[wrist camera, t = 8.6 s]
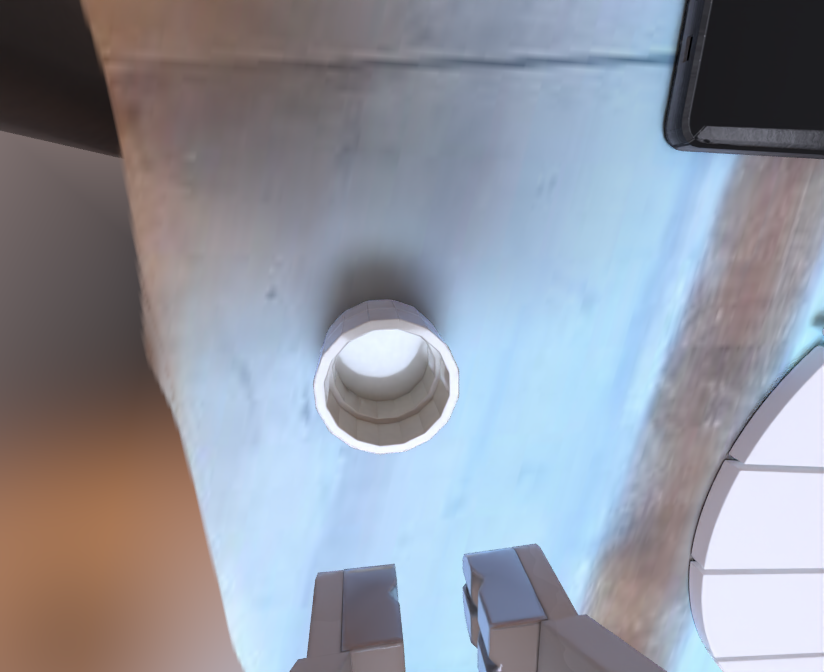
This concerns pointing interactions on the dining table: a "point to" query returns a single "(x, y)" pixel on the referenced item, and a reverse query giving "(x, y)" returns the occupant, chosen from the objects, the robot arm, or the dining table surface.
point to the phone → (750, 79)
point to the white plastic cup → (385, 378)
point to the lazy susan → (767, 537)
